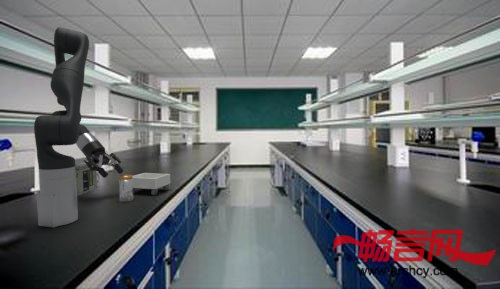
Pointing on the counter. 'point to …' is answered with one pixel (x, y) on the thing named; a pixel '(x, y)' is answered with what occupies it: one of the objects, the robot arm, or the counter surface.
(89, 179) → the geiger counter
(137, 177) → the parts cart
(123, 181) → the canister
